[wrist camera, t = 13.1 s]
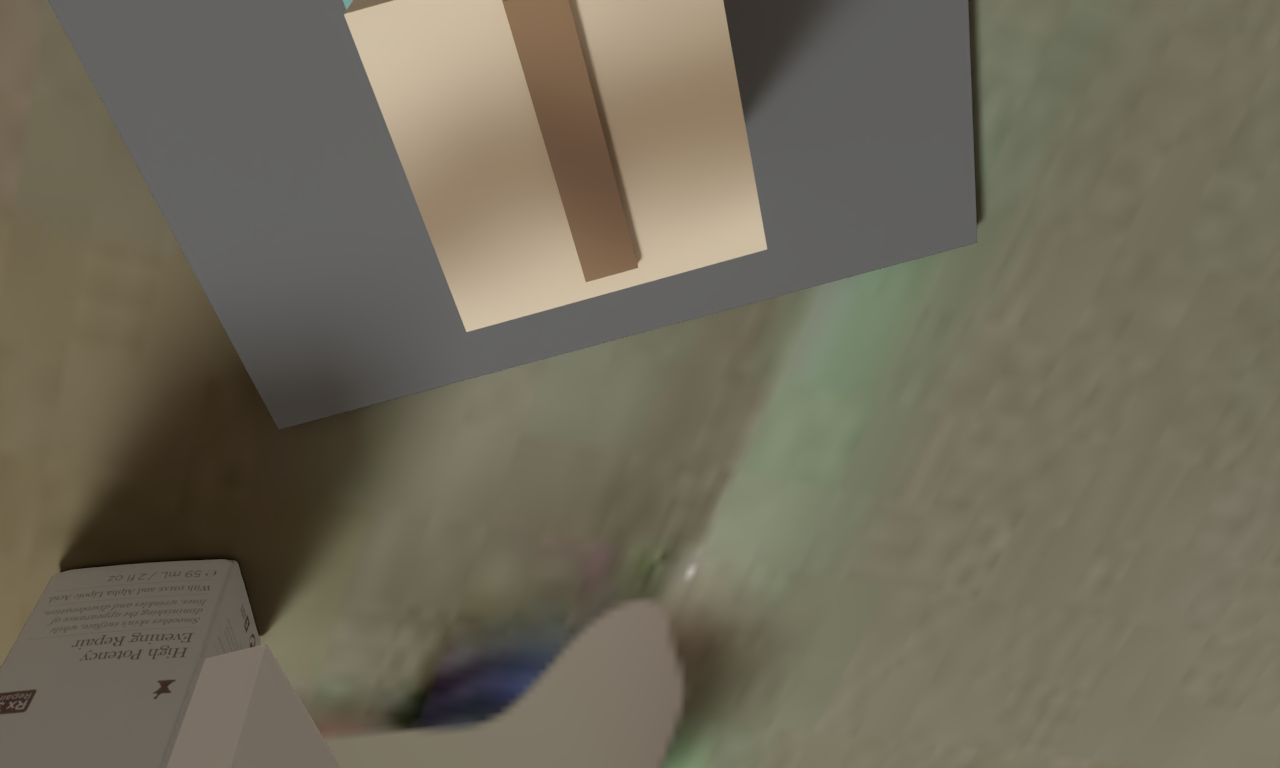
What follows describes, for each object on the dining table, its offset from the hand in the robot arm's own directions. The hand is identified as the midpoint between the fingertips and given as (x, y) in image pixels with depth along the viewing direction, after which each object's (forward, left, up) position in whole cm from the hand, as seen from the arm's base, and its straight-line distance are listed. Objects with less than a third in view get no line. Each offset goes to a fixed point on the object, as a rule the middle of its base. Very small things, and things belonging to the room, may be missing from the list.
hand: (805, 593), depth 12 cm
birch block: (+1, -3, -17) cm, 17 cm away
